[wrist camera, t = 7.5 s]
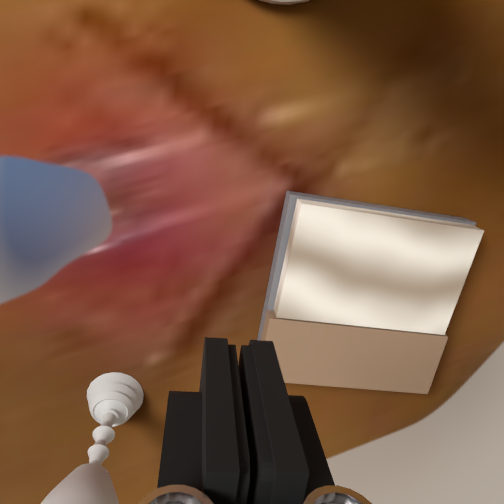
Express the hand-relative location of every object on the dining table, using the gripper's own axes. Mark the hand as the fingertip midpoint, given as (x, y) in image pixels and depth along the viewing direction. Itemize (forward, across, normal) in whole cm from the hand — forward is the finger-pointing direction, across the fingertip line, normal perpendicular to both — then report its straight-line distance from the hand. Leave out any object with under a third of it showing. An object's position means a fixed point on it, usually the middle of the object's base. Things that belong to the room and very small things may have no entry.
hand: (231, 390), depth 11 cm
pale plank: (+23, -14, +5) cm, 27 cm away
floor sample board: (+25, -14, +8) cm, 29 cm away
